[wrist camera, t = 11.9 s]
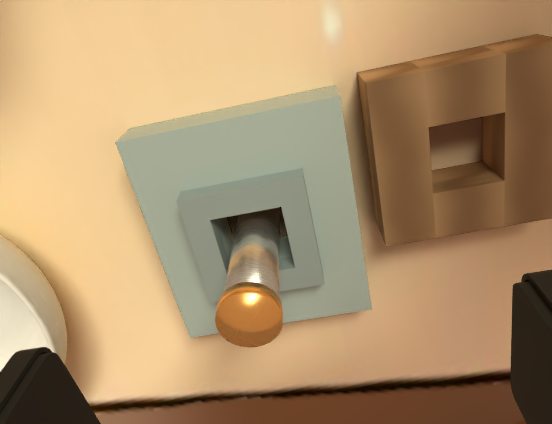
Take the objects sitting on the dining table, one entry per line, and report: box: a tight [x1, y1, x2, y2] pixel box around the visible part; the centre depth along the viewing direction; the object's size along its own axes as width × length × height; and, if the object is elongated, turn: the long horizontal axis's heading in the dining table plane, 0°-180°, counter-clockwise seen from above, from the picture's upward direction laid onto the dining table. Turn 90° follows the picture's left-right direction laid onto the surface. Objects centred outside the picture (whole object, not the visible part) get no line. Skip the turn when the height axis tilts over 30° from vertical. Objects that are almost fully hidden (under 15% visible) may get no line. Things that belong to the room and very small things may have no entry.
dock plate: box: [115, 85, 372, 338], centre depth 32 cm, size 14×16×4 cm
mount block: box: [357, 34, 552, 247], centre depth 29 cm, size 11×11×4 cm
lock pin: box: [215, 208, 283, 347], centre depth 28 cm, size 3×3×12 cm
